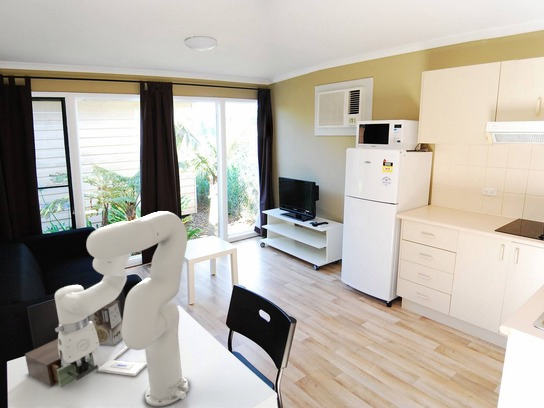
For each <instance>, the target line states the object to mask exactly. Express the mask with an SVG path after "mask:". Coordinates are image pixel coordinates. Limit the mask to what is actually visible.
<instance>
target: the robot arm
mask: <svg viewBox="0 0 544 408" xmlns="http://www.w3.org/2000/svg"><path fill="white" fill-rule="evenodd" d="M155 245H157V247H156V249H155V251H154V253H153V255H152V259H151V265H150V270H149V274H148V276H147V277H146V278H145V279H143V280H141V281H140V282H139V283H137V284H136V285H134V286H133V287H131V289H130V290H129V291H128V293H127V295H126V297H125V301H124V307H123V315H122V341H123V342H124V345H125V346H128V347H129V348H128V349H131V350H133V351H141V350H144V352H145V362H146V361H147V365H146V368H147V369H146V370H147V375H148V384H149V387H148V388H147V390H146V391H145V394H144V398H145V403H147V404H148V405H150V406H153V407H163V406H168V405H170V404H173V403H175V402H177V401H178V400H179V399H181V400H184V399H186V397H187V392H189V390H190V386H189V381H188V379H187V377H184V376H183V372H182V362H181V351H180V341H179V324H180V310H179V308H178V305H177V304H176V302H174V301H173V299H175V298H176V297H177V295H178V293H179V291H180V286H181V280H182V275H183V268H184V260H185V255H186V251H187V245H188V232H187V228H186V226H185V223H184V221H183V220H182V219H181V218H180V217H179V216H178V215H177V214H175V213H173V212H170V211H157V212H152V213H150V214H147V215H145V216H142V217H139V218H136V219H133V220H130V221H118V222H114V223H112V224H109V225H105V226H103V227H99V228H96V229H95V230H93V231H91V233H90V234H89V235H88V236H87V239H86V249H87V250H86V251H87V252H88V254H89V256H92V257H93V260H92V267H93V269H94V270H95V271H96V272H97V273H99V274H100V275H103V277H102V279H101V280H100V281H99V282H97V283H96V284H94V285H92V286H90V287H88V288H86V289H84V287H83V286H82V285H79V284H72V285H67V286H64V287H61V288H59V289H57V290H56V291H55V293H54V301H55V308H56V312H57V318H58V326H57V327H55V328H54V331H55V332H56V333H58V335H57V339H58V352H59V357H60V359H61V366H63V367H65V366H68V365H71V364H72V365H75V367H76V372H77V373H78V374H81V373H82V372H84V371H86V370H88V369H89V366H88V361H89V358H90V356H91V354H92V355H93V353H95V352H96V351H97V350H98V349H99V348H100V344H99V340H98V336H97V332H96V330H95V327H94V325H93V323H92V321H90V319H89V315H91V314H93V313H95V312H96V311H98V310H99V309H101V308H102V307H104V306H106V305H107V304H109V303H110V302H112V301H116V299H118V297H119V296H120V294H121V293H122V291H123V290H124V287H125V285H126V283H127V281H128V277H127V276H128V275H127V270H126V266H127V264H128V261H130V260H129V259H130V257H131V255H132V254H134V253H138V252H141V251H145V250H147V249H149V248H151V247H153V246H155ZM80 358H81V360H80Z"/></svg>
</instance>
